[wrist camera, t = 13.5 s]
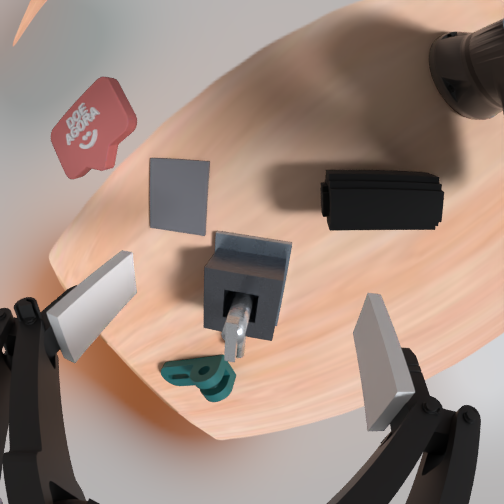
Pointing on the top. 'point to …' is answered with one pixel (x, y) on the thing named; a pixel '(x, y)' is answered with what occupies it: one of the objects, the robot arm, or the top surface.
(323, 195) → the security camera
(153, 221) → the mat
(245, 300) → the silver grey long piece
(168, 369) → the bracket
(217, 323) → the hollow square block
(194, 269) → the top surface
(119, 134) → the plaque
